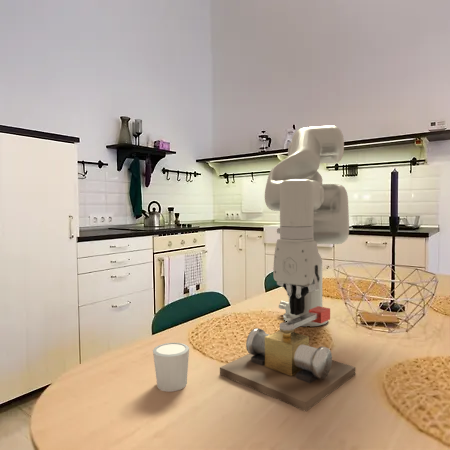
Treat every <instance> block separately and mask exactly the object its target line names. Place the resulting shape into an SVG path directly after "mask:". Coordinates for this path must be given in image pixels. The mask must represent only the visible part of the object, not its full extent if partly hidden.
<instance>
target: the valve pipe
mask: <svg viewBox="0 0 450 450" xmlns="http://www.w3.org/2000/svg"><path fill="white" fill-rule="evenodd" d="M245 345H246V350H247V351H246V352H248V354H251V355H254V356H252V357H251V362H253V363H256V364H259V365H261V366H263V365H265V367H268V368H271V369H273V370H276V371H279V372H282V373H284V374H287V375H290V376H293V375H295V374H296V378H297V379H300V380H302V381H305V382H308V383H311V382H313V381H315V380H316V379H318V378H320V379H324V378H325V377H326V376H327V375H328V373H329V371H330V368H331V364H332V360H333V355H332V351H331V350H330V348H329V347H326V346H319V347H313V346H310V336H308V335H305V334H300V333H297V332H295V331H294V332H291V333H284V332H281V331H280V330H278V331H276V332H273V333H271V334H268V333H266V331H265V330H264V329H262V328H258V327H256V328H253V329H251V331H250V332H249V334H248V335H247V337H246V343H245Z"/></svg>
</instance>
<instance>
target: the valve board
mask: <svg viewBox="0 0 450 450" xmlns="http://www.w3.org/2000/svg"><path fill="white" fill-rule="evenodd" d="M252 356H254V355H251V354H249V353H248V354H246V355H244V356H242V357H239V358H236V359H235V360H232V361H230V362H228V363H225V364H223V365H221V366H219V375H220V376H222V377H225V378H227V379H229V380H232V381H234V382H237V383H239V384H241V385H243V386H246V387H248V388H251V389H253V390H255V391H258V392H260V393H262V394H264V395H267V396H269V397H271V398H273V399H276V400H278V401H280V402H283V403H285V404H288V405H290V406H293V407H294V408H297V409H299V410H302V411H304V412H307V411H309V410H310V409H311V408H312V407H314V406H316V405H317V404H318V403H319V402H321V401H322V400H323V399H324V398H326V397H327V396H329V395H330V394H332V393H333V392H334V391H335V390H337V389H338V388H340V386H342V385H343V384H345V383H346V382H347V381H348V380H350V379H351V378H353V377H354V376H355V375H356V366H352V365H349V364H346V363H343V362H340V361H337V360H333V359H332V364H331V368H330V371H329V373H328V375H327V376H326V377H325V378H324V379H320V378H318V379H316V380H315V381H313V382H311V383H308V382H305V381H302V380H300V379H297V378H296V374H295V375H293V376H290V375H287V374H284V373H282V372H279V371H276V370H273V369H271V368H268V367H265V365H263V366H261V365H259V364H256V363H253V362H251V357H252Z"/></svg>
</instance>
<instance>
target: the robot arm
mask: <svg viewBox="0 0 450 450" xmlns="http://www.w3.org/2000/svg"><path fill="white" fill-rule="evenodd" d="M287 149H288V150H287V157H286V158H284V159H282V160H281V161H279V162H278V163H277V164H276V165H274V166H273V167H272V168H271V169H270V171H269V173H268V176H267V180H266V184H265V190H264V201H265V205H266V207H267V208H268V209H269V210H271V211H275V212H279V227H278V228H277V229H276V234H278V235H279V239H277V241H276V243H275V248H274V257H273V268H272V269H273V272H272V273H273V274H272V275H273V279H274V281H275V282H276V285H277V286H279V287H282V288H283V289H284V290H285V291H286V293H287V297H288V301H285V300H280V303H279V304H278V309H280V310H285V313H284V314H283V315H282V316H283V317H282V318H284V319H283V321H284V320H285V321H284V322H286V321H287V322H288V321H290V320H293V319H295V318H297V317H300V316H302V315H305V314H307V313H309V310H310V309H312V308H315V307H317V306H320V307H323V258H322V257H321V254H320V253H319V248H318V245H340V244H345V242H346V241H347V240H348V238H349V234H350V217H349V216H350V214H349V213H350V212H349V210H350V209H349V198H348V197H349V196H348V191H347V189H346V188H345V187H344V186H343V185H342V184H338V183H326V184H325V183H324V184H323V177H322V176H321V174H320V173H319V171H318V170H319V168H320V165H321V164H334V163H340V161H342V159H343V156H344V150H345V140H344V135H343V132H342V130H341V128H339V127H338V126H335V125H321V126H309V127H308V126H307V127H302V128H299V129H298V130H297V131H295V132H294V134H293V135H292V138H291V142H289V145H288V148H287ZM328 321H329V320H327V321H325V322H323V323H317V322H312V321H311V322H308V323H306V324H304V325H302V326H301V327H307V326H310V327H319V326H323V325H326V324H327V323H328Z"/></svg>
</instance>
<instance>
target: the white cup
mask: <svg viewBox="0 0 450 450" xmlns="http://www.w3.org/2000/svg"><path fill="white" fill-rule="evenodd" d="M152 353H153V362H154V363H153V364H154V372H155V377H156V378H155V379H156V386H157V389H159V391H162V392H169V393H170V392H177V391H180V390H183V389H184V388H185V387H186V386H187V384H188V371H189V356H190V347H189V346H188V345H187V344H185V343H182V342H167V343H166V342H165V343H162V344H159V345H157V346H155V347H154V348H153V349H152Z"/></svg>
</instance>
